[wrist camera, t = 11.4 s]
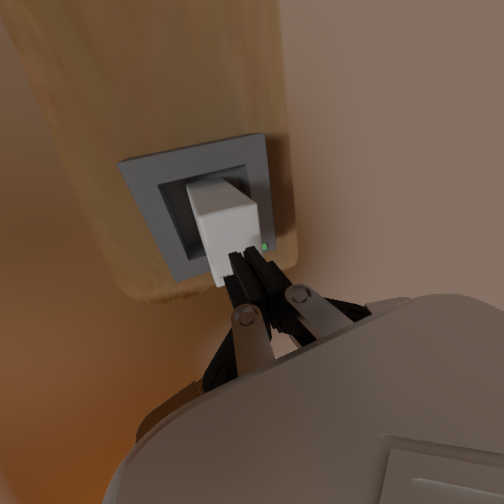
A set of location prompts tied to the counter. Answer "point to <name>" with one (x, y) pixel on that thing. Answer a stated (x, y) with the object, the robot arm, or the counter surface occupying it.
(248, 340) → the robot arm
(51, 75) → the counter surface
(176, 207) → the port block
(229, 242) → the skincare box
